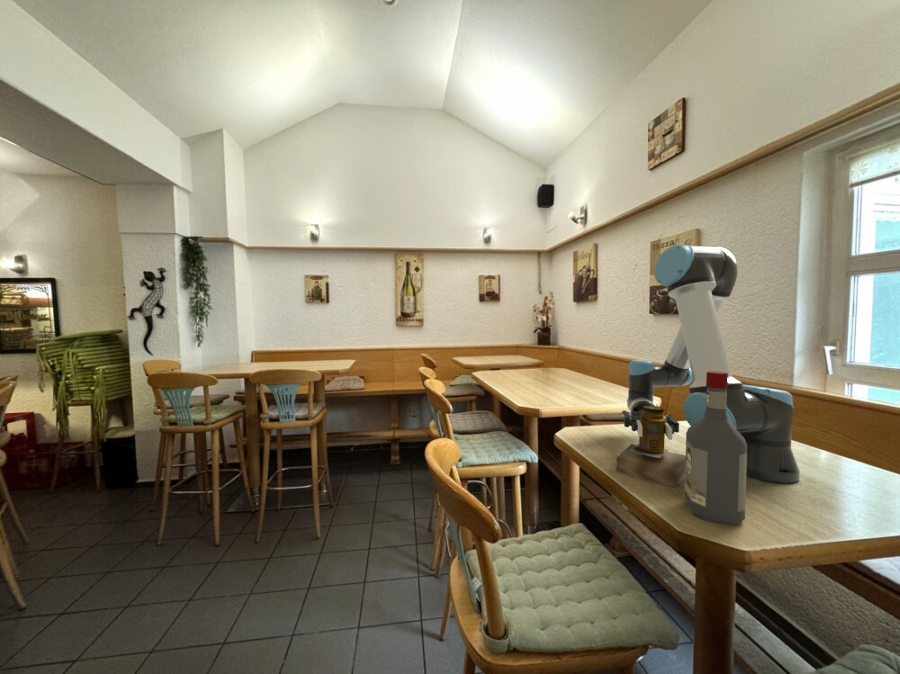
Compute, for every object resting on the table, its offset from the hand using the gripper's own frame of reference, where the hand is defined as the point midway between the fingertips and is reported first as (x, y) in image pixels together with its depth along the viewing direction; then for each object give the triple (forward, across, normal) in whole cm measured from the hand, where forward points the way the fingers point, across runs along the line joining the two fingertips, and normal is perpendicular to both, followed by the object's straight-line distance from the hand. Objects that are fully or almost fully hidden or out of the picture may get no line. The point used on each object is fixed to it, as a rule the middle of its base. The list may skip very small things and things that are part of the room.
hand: (655, 432), depth 91 cm
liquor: (+14, -9, -12) cm, 21 cm away
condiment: (-5, 0, -7) cm, 8 cm away
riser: (-5, 0, -12) cm, 13 cm away
